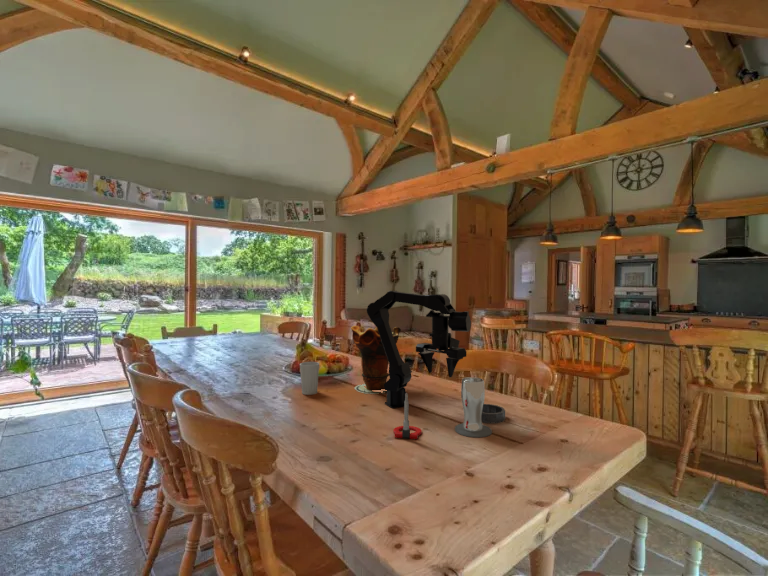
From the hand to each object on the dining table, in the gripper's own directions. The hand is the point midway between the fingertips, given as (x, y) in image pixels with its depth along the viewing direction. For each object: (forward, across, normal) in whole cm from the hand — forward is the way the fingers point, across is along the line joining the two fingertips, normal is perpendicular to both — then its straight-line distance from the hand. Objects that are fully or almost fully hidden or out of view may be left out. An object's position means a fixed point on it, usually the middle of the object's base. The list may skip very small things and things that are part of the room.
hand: (440, 374), depth 136 cm
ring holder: (+13, -14, -8) cm, 21 cm away
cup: (+13, +52, +21) cm, 58 cm away
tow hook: (+13, -6, +22) cm, 27 cm away
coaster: (+13, -18, +6) cm, 23 cm away
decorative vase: (+13, +40, -3) cm, 42 cm away
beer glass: (+13, -18, +6) cm, 23 cm away
